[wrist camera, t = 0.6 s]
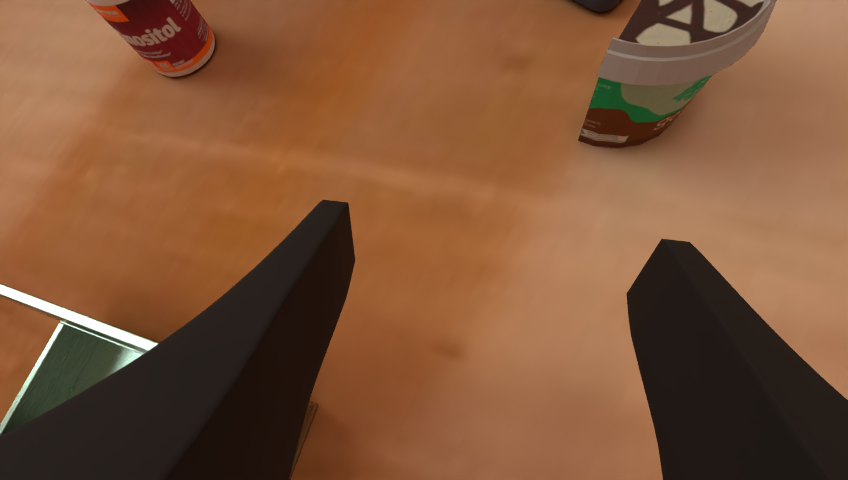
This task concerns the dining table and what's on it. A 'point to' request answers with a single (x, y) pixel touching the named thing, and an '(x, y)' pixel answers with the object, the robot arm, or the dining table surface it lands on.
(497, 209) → the dining table surface
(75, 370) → the open hinged box
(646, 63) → the food container
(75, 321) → the lid
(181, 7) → the pill bottle
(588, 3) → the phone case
